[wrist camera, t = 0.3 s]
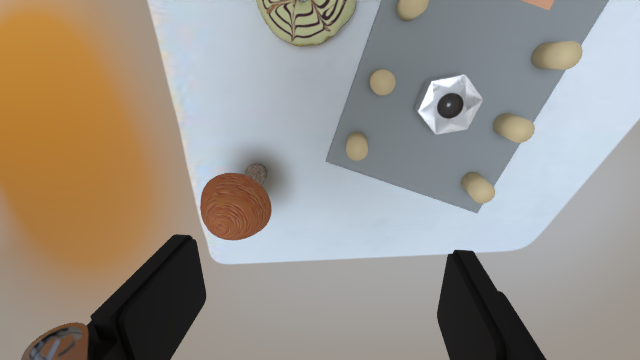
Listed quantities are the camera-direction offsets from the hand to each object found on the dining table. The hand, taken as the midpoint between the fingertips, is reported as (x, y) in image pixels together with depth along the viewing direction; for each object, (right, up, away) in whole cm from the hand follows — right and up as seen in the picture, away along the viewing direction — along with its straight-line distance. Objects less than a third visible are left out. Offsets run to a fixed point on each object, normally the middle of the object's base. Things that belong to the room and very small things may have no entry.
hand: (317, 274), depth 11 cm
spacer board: (+17, +19, +22) cm, 34 cm away
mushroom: (-8, +4, +32) cm, 33 cm away
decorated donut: (-1, +24, +23) cm, 34 cm away
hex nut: (+15, +13, +25) cm, 32 cm away
